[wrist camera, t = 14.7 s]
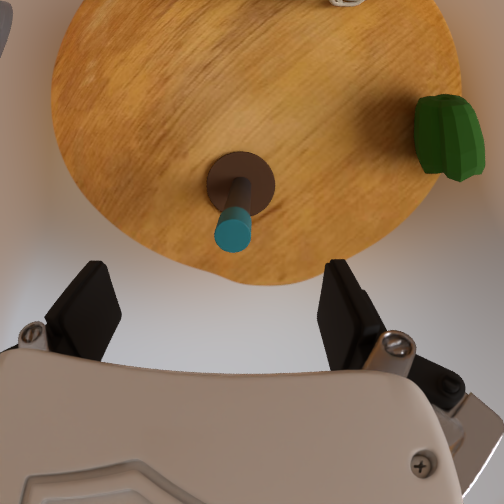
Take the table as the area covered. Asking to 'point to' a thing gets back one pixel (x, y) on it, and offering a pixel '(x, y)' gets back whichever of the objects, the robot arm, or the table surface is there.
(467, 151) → the bell pepper
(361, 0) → the bracelet
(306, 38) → the table surface
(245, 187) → the marker
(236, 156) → the coaster
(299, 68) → the table surface
